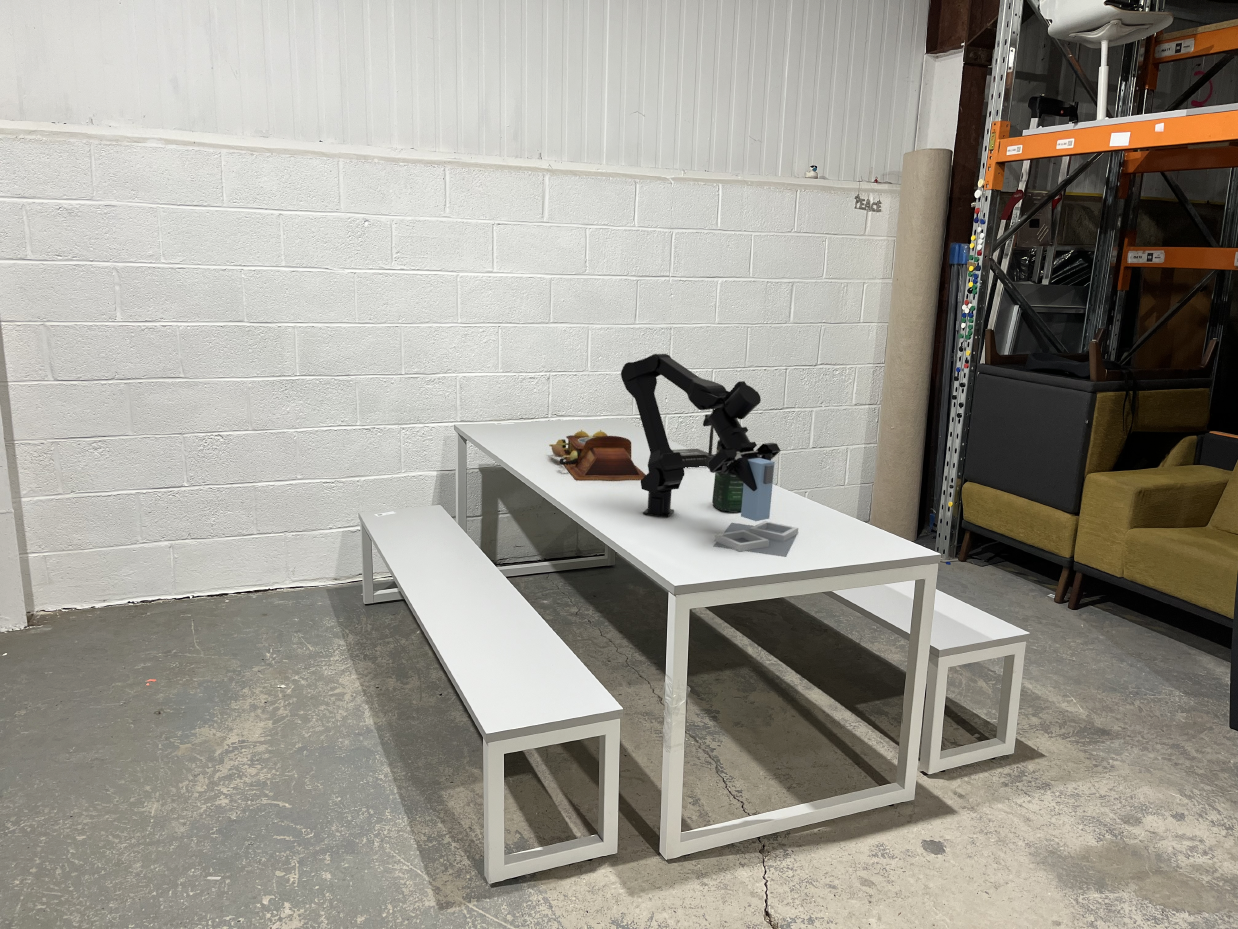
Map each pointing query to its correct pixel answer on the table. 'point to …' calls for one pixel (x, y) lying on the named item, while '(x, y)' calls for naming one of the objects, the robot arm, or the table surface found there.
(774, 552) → the panel
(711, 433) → the dark piece
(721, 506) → the coffee jar
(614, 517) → the table surface
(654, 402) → the robot arm
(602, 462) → the brown wooden toy
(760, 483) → the plug
